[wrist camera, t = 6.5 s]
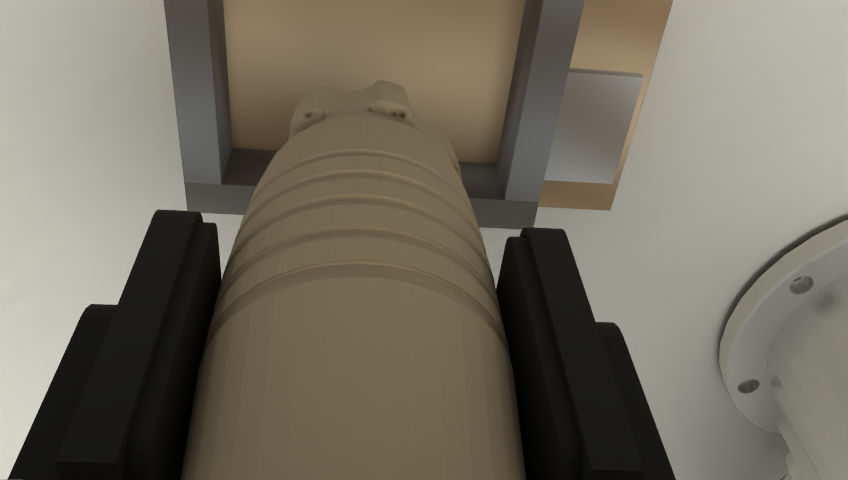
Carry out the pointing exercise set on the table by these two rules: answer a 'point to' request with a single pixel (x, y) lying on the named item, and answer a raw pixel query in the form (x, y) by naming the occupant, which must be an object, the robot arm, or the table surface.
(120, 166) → the table surface
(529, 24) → the wooden tray
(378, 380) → the handle
